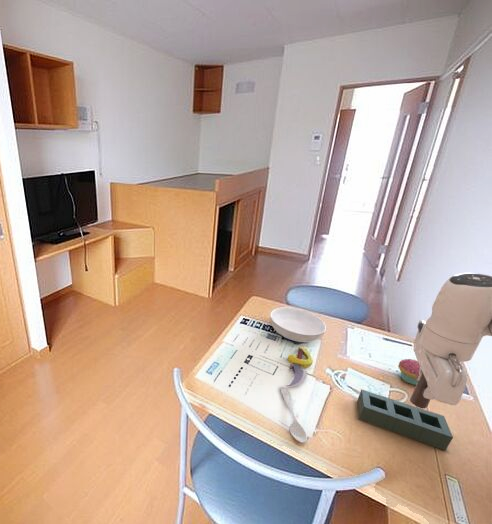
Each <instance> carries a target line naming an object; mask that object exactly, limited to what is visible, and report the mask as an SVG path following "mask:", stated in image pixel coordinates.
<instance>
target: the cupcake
mask: <svg viewBox="0 0 492 524" xmlns="http://www.w3.org/2000/svg"><path fill="white" fill-rule="evenodd" d="M397 367H398V369H399V371H400V376H401V379H402V380H403V381H404V382H406V383H407V384H410V385H415V386H416V385H417V383H418V380H417V379H418V377H419V371H420V364H419V362H418V360H417V359H412V358H405V359H402V360H400V361H398V365H397Z"/></svg>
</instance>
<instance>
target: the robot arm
mask: <svg viewBox="0 0 492 524" xmlns="http://www.w3.org/2000/svg"><path fill="white" fill-rule="evenodd" d="M416 328H417V329H418V330H417V332H416V334H415V338H414V340H413V341H414V342H413V352H414V355H415V357H416V360H417V361H418V362H419V364H420V371H419V377H418V379H417V380H419V378H420V376H421V374H422V372H423V374H424V376H425V379H426V381H427V385H428V387H427V388H424V389H423V391H422V393H423V396H424V398H427V399H430V401H432V400H434V401H437V402H439V403H443V404H447V405H449V406H456V405H458V404H459V403H460V401H461V398H462V397H463V394H464V391H465V389H466V387H467V383H468V382H467V381H468V375H467V373H466V371H465V369H464V367H463V365H462V364H461V363H465V362H470V361H471V360H472V359H473V357H474V355H475V353H476V351H477V349H478V347H479V345H480V343H481V341H482V340H483V337H487V336H489V337H492V276H491V275H489V274H483V273H476V272H463V273H462V272H461V273H456V274H454V275H452V276H450V277H449V278H448V279H447V280H446V281H445V282H444V283H443V284H442V286H441V288H440V289H439V291H438V293H437V295H436V297H435V299H434V301H433V304H432V305H431V314H430V317H428V318H427V319H426V320H421V319H420V320H419V321H418V323H417V327H416Z"/></svg>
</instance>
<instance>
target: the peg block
mask: <svg viewBox="0 0 492 524" xmlns="http://www.w3.org/2000/svg"><path fill="white" fill-rule="evenodd" d="M356 404H357V416H358V420H359V421H363V422H365V423H368V424H370V425H374V426H376V427H379V428H382V429H385V430H387V431H389V432H393V433H396V434H399V435H401V436H404V437H406V438H409V439H412V440H414V441H418V442H419V443H423V444H425V445H428V446H431V447H434V448H437V449H440V450H443V451H447V449H448V447H449V445H450V444H451V442H452V440H453V439H454V436H453V434H452V431H451V428H450V427H449V423H448V421H447V419H446V418H445V415H442V414H439V413H436V412H433V411H430V410H426V409H425V408H420V407H417V406H415V405H413V404H409V403H405V402H402V401H399V400H396V399H393V398H391V397H387V396H383V395H380V394H378V393H375V392H371V391H368V390H365V389H361V390H360V392H359V395H358V397H357V400H356Z"/></svg>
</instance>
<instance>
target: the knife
mask: <svg viewBox="0 0 492 524" xmlns="http://www.w3.org/2000/svg"><path fill="white" fill-rule="evenodd" d="M303 356H304V358H305V359H303ZM287 361H288V363H289V364H291V365H289V370H292V371H293V374H294V377H293V379H292V380H291V382H290V383H289V384H286V385H285V387H288V388H291V387H296V386H299V385H302V384H304V382H305V381H306V378H307V377H308V376H307V375H308V370H303V368H304V369H305V368H309V367H311V366H312V364H313V363H314V362H313V361H314V359H313V356H312V355H311V353H310V352H309V349H308V348H307V347H306V346H301V345H299V346H298V348H297V354H288V356H287Z"/></svg>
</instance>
